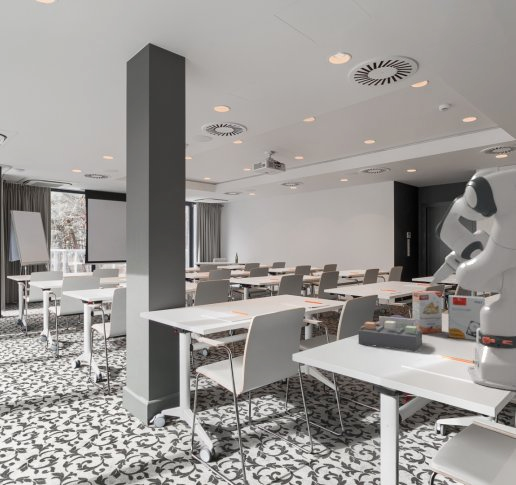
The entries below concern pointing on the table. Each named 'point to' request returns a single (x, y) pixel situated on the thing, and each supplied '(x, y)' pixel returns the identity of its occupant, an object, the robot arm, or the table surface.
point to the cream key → (390, 324)
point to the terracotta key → (370, 325)
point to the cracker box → (427, 311)
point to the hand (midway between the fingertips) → (431, 285)
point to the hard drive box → (464, 316)
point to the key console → (392, 335)
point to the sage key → (411, 329)
